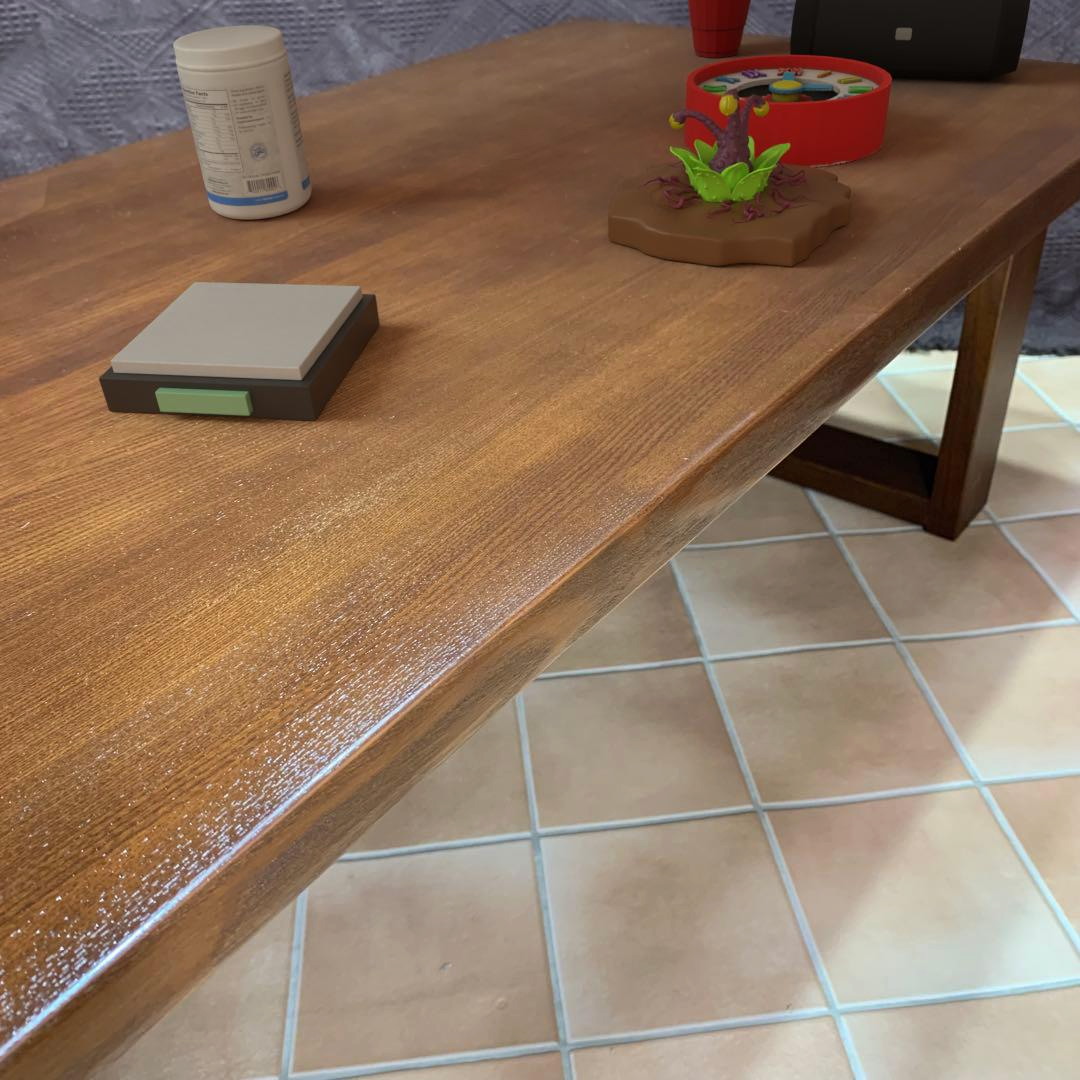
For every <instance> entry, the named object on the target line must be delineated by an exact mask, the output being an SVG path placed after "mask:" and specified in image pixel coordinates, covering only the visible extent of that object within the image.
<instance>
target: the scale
mask: <svg viewBox="0 0 1080 1080" xmlns="http://www.w3.org/2000/svg"><path fill="white" fill-rule="evenodd" d="M380 325H381V323H380V318H379V310H378V304H377V296H376V294H375V293H363V289H362V286H361V285H333V284H332V285H331V284H329V285H328V284H326V285H325V284H293V283H292V284H291V283H289V284H287V283H254V282H253V283H251V282H250V283H249V282H247V283H246V282H245V283H244V282H213V281H212V282H211V281H209V282H207V281H204V282H203V281H195V282H193V283H192V284H191V285H190V286H189V287H188V288H187V289H186V290H185V291H183V292H182V293H181V294H180V295H179V296H178V297H177V298H176V299H175V300H174V301H172V303H171V304H169V305H168V306H167V307H166V308H165V309H164V310H163V311H162V312H160V313H159V315H157V317H156V318H154V320H153V321H151V322H150V323H149V324H148V325H147V326H146V327H145V328H144V329H143V330H142V331H141V332H139V333H138V334H137V335H136V336H135V337H134V338H133V339H132V340H131V341H129V343H127V345H125V346H124V347H123V348H122V349H121V350H120V351H119V352H118V353H117V354H116V355H115V356H114V357H113V358H111V359H110V364H111V366H110V367H109V368H108V369H107V370H106V371H104V372H103V373H102V375H100V376H99V377H98V381H99V384H100V387H101V391H102V393H103V396H104V399H105V403H106V406H107V409H108V411H109V412H117V413H118V412H120V413H121V412H122V413H141V414H142V413H144V414H162V415H165V414H166V415H186V416H204V417H206V416H207V417H226V418H227V417H228V418H248V419H250V418H251V419H268V420H269V419H270V420H289V421H291V420H292V421H316V420H317V419H318V418H319V416H320V415H321V413H322V412H323V410H324V408H326V406H327V404H328V403H329V401H330V400H331V398H332V397H333V395H334V394H335V392H336V391H337V389H338V388H339V387H340V385H341V383H342V382H343V380H344V379H345V377H346V376H347V374H348V373H349V371H350V370H351V368H352V367H353V366H354V364H355V363H356V361H357V359H358V358H359V357H360V355H361V354H362V352H363V351H364V349H365V348H366V346H367V345H368V343H369V342H370V340H371V339H372V337H373V336H374V334H375V333H376V331H377V330H378V328H379V327H380Z"/></svg>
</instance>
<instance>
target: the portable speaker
mask: <svg viewBox="0 0 1080 1080" xmlns="http://www.w3.org/2000/svg"><path fill="white" fill-rule="evenodd" d="M1030 6H1031V0H795V3H794V8H793V14H792V21H791V27H790V28H791V29H790V41H789V45H790V46H789V55H813V56H828V57H836V58H844V59H850V60H856V61H860V62H865V63H868V64H871V65H874V66H877V67H879V68H881V69H883V70H885V71H887V72H888V73H889V74H890V76H891V78H892V79H917V80H918V79H920V80H948V81H949V80H951V81H985V82H986V81H990V80H992V79H995V78H999V77H1002V76H1004V75H1008V74H1012V73H1014V72H1016V71H1017V69H1018V67H1019V62H1020V58H1021V53H1022V49H1023V44H1024V40H1025V34H1026V29H1027V25H1028V24H1027V23H1028V20H1029V19H1028V18H1029V12H1030Z"/></svg>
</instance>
